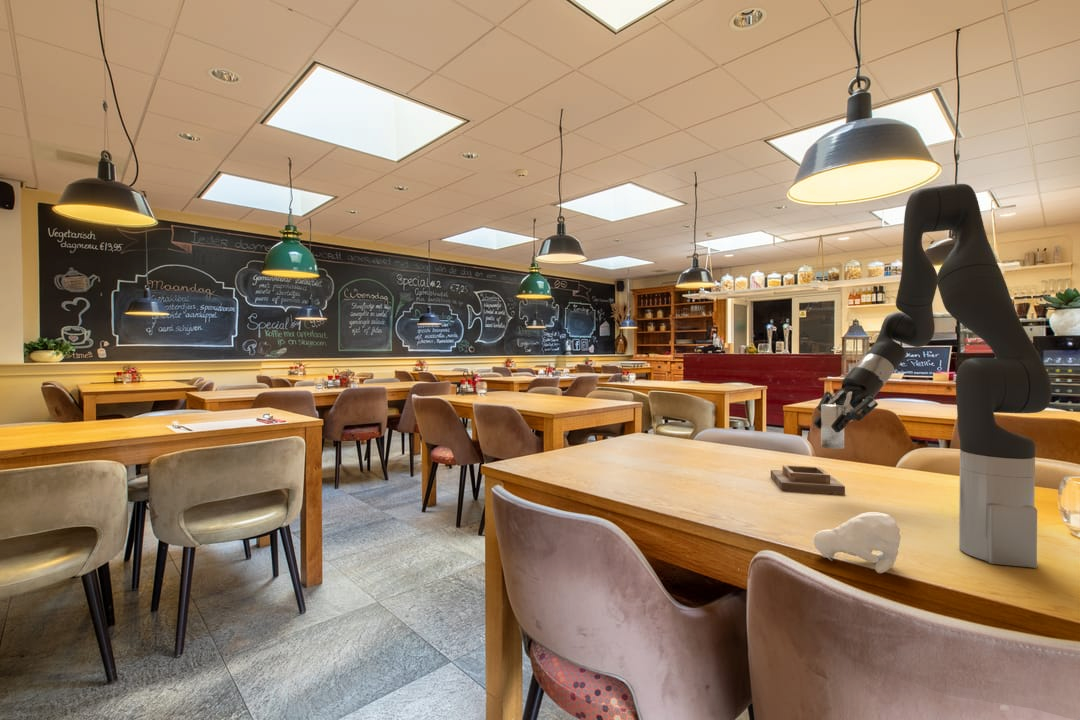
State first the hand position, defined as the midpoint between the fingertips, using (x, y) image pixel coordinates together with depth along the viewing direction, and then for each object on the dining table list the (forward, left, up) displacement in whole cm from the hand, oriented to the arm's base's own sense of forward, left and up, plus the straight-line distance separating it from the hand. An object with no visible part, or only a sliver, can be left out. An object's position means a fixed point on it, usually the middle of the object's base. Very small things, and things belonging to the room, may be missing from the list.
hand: (825, 427), depth 116 cm
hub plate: (+10, +2, -16) cm, 19 cm away
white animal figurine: (-41, +7, -17) cm, 45 cm away
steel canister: (+1, -2, -5) cm, 5 cm away
